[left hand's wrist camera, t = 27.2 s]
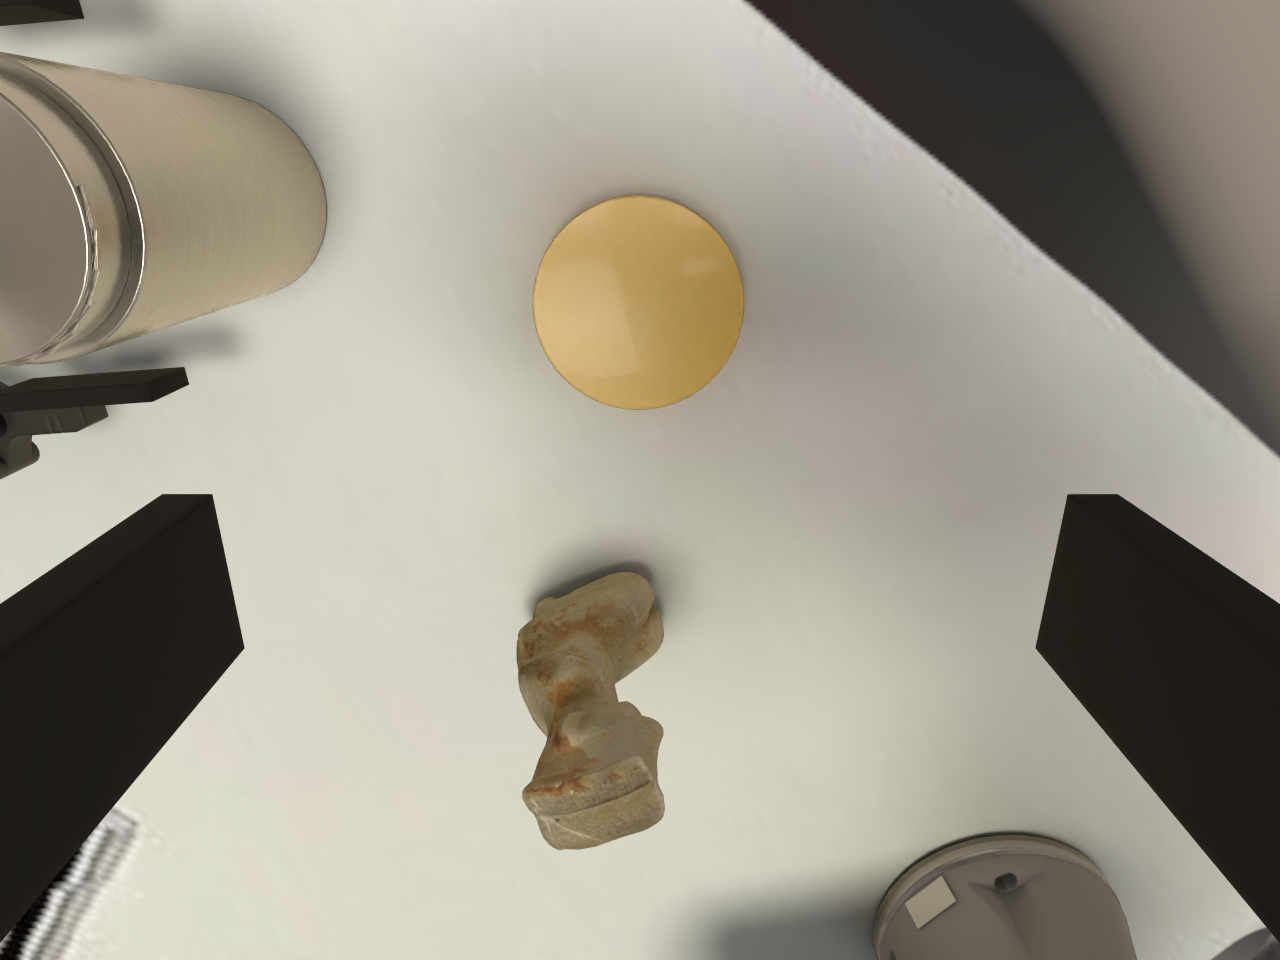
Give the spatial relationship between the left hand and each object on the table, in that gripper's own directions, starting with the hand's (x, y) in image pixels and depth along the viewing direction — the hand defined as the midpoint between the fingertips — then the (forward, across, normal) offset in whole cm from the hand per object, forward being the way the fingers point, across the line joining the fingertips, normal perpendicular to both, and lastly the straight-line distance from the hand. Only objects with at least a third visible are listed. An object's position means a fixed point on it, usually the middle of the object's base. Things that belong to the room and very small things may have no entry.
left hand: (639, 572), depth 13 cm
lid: (+25, 0, 0) cm, 25 cm away
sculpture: (+27, +2, +16) cm, 32 cm away
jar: (+27, +18, -5) cm, 33 cm away
